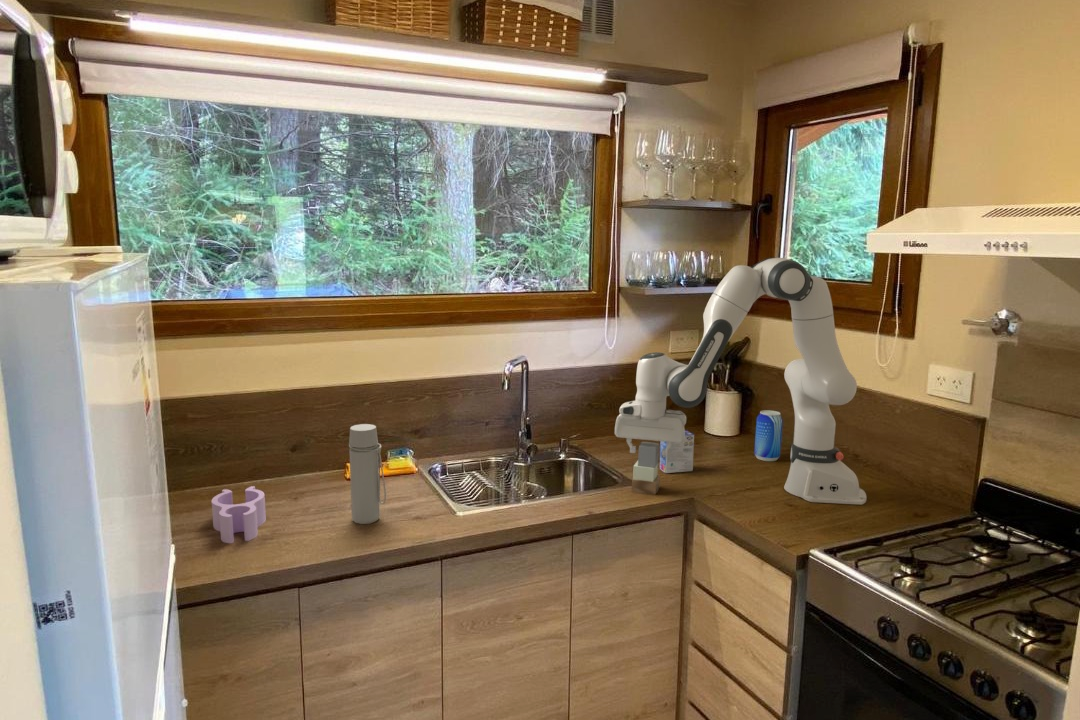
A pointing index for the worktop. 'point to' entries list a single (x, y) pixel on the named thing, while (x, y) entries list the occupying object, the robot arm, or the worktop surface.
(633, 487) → the tower base
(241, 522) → the clip
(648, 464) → the grey block
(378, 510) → the water bottle
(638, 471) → the cream square block
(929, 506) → the worktop surface
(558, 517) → the worktop surface
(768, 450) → the beer can
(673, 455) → the ink cartridge box
